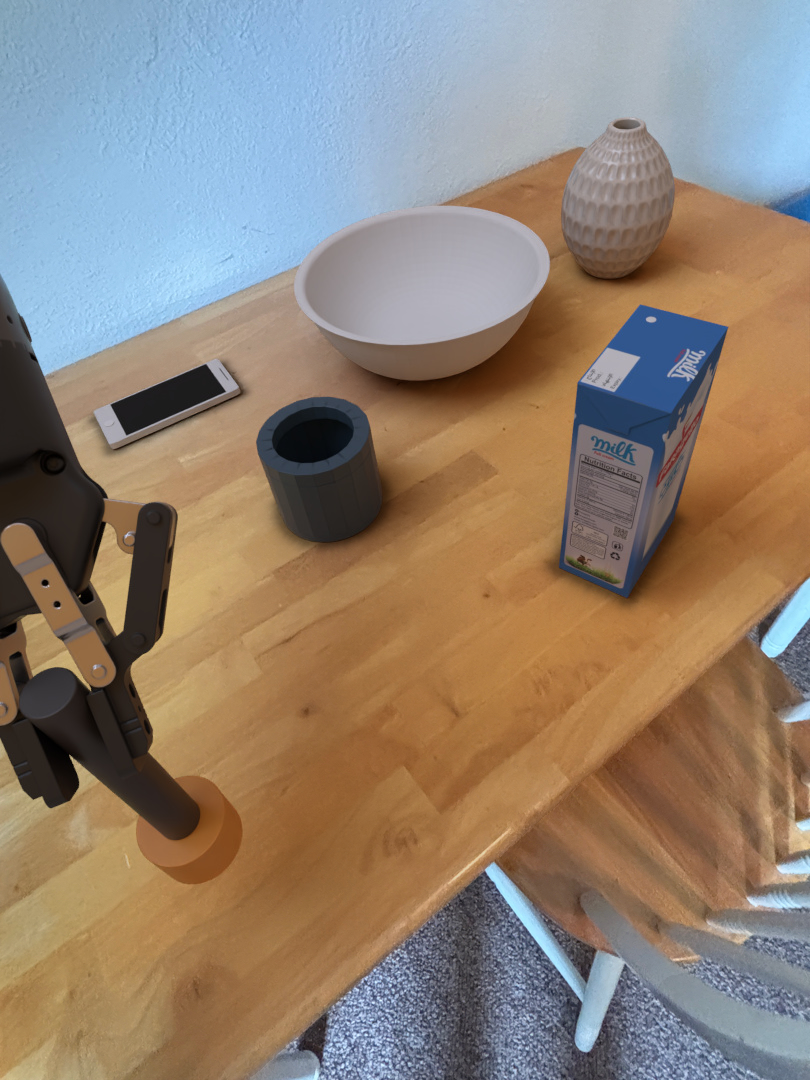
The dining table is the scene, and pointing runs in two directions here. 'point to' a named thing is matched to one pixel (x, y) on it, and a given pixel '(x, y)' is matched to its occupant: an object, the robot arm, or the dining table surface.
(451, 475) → the dining table surface
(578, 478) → the milk carton
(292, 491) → the jar
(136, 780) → the plunger
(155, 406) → the smartphone
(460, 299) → the bowl
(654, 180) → the vase
